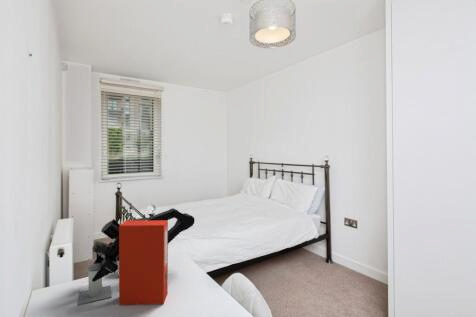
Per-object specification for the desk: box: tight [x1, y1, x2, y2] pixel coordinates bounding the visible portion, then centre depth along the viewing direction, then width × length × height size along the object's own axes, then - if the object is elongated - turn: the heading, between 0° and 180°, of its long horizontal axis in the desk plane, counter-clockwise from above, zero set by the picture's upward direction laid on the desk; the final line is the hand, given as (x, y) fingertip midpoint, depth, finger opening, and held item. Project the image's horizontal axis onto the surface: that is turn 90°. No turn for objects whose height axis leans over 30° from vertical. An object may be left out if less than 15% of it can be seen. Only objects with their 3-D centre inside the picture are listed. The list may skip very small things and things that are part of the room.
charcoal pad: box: [77, 284, 112, 306], centre depth 109 cm, size 12×10×1 cm
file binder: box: [118, 220, 169, 306], centre depth 106 cm, size 8×17×32 cm, turn 94°
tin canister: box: [87, 263, 103, 297], centre depth 108 cm, size 5×5×12 cm
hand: (91, 276), depth 107 cm, fingers open, 9 cm apart
